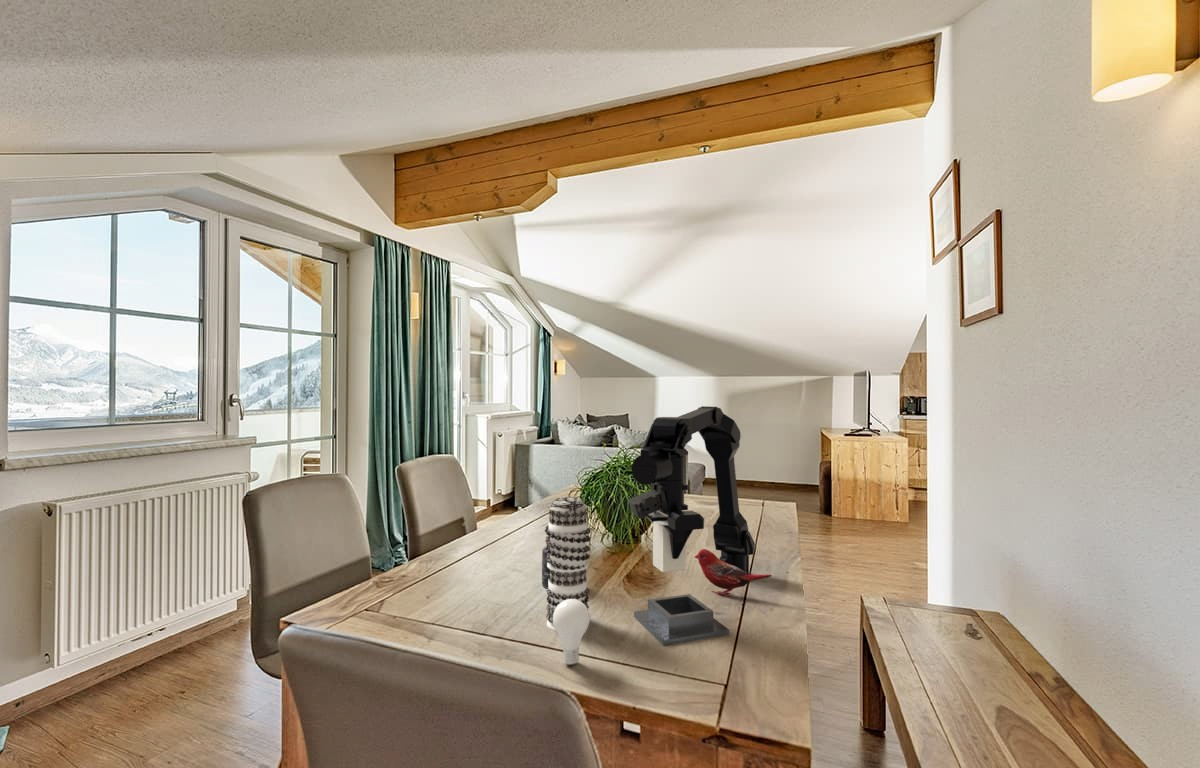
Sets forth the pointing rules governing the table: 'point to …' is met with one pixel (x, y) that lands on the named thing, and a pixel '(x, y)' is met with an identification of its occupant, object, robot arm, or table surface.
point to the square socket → (679, 620)
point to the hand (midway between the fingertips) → (669, 555)
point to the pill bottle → (545, 568)
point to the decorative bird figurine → (723, 573)
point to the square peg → (665, 550)
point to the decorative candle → (566, 553)
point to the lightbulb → (571, 627)
